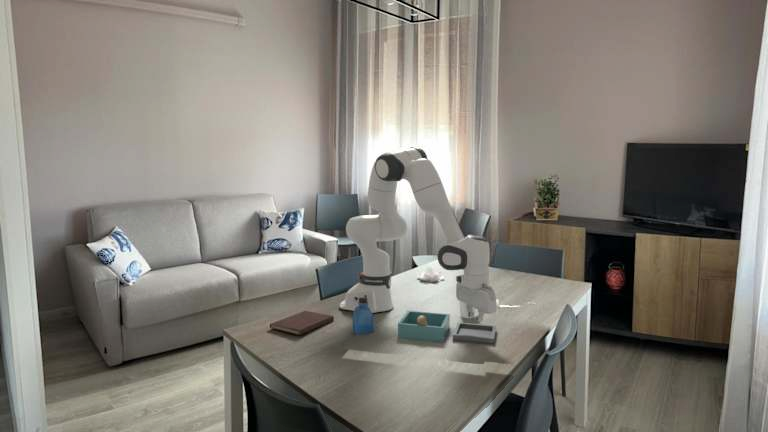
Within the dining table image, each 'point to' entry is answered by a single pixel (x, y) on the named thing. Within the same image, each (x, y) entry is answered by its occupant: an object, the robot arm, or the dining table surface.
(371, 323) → the perfume bottle
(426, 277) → the lotus flower
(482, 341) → the charcoal tray
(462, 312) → the white cylinder
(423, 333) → the shallow teal crate
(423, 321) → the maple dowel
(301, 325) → the notebook
